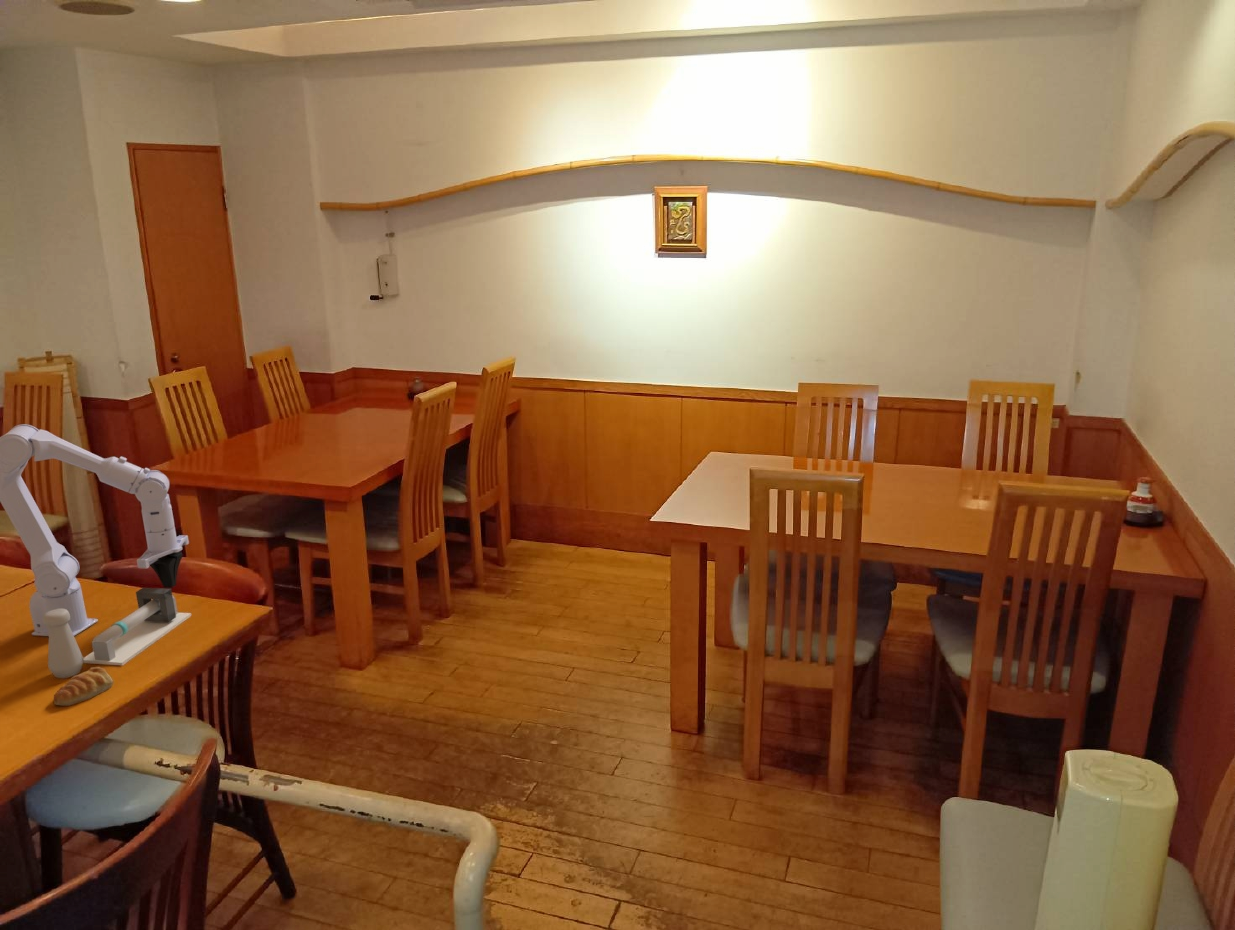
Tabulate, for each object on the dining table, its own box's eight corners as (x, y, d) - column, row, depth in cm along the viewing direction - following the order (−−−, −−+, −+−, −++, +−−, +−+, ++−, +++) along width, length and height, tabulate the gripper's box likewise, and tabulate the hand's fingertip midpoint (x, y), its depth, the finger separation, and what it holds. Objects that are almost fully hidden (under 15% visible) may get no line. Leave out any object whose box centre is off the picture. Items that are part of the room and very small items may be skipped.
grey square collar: (169, 622, 185) (164, 593, 183) (140, 620, 186) (135, 592, 184) (176, 617, 187) (171, 589, 185) (148, 615, 188) (143, 587, 186)
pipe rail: (122, 665, 170) (117, 638, 168) (81, 662, 171) (75, 635, 169) (191, 615, 190) (187, 590, 189) (154, 613, 192) (149, 588, 190)
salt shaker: (68, 682, 164) (55, 619, 160) (43, 679, 165) (29, 617, 161) (92, 667, 169) (80, 606, 166) (67, 664, 170) (54, 603, 167)
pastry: (71, 712, 154) (67, 693, 153) (44, 705, 157) (40, 686, 156) (117, 686, 163) (113, 667, 162) (91, 680, 165) (88, 662, 164)
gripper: (154, 540, 179) (165, 601, 182) (197, 517, 192) (206, 574, 196) (123, 539, 180) (134, 599, 183) (168, 516, 193) (177, 572, 197)
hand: (169, 586), depth 190 cm, fingers closed
